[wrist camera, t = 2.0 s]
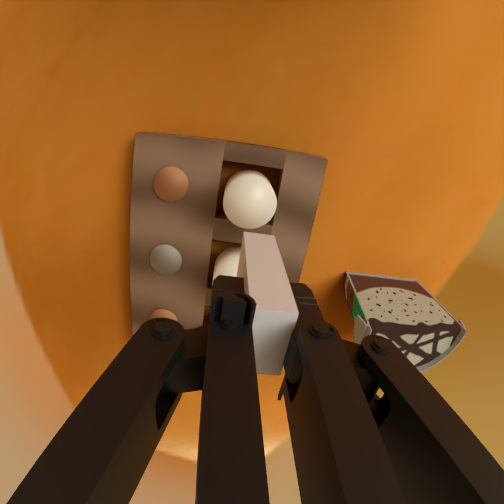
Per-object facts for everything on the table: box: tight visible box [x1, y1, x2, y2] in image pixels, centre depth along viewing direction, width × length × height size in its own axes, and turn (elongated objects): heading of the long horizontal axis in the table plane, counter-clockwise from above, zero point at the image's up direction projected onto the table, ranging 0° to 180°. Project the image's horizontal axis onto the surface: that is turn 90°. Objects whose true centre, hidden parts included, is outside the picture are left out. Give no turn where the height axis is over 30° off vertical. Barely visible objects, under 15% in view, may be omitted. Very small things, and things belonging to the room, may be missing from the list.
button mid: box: [212, 246, 241, 286], centre depth 28 cm, size 4×4×3 cm
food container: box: [343, 272, 467, 373], centre depth 29 cm, size 12×6×10 cm, turn 81°
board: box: [130, 132, 327, 335], centre depth 30 cm, size 22×16×2 cm
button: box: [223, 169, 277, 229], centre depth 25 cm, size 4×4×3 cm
